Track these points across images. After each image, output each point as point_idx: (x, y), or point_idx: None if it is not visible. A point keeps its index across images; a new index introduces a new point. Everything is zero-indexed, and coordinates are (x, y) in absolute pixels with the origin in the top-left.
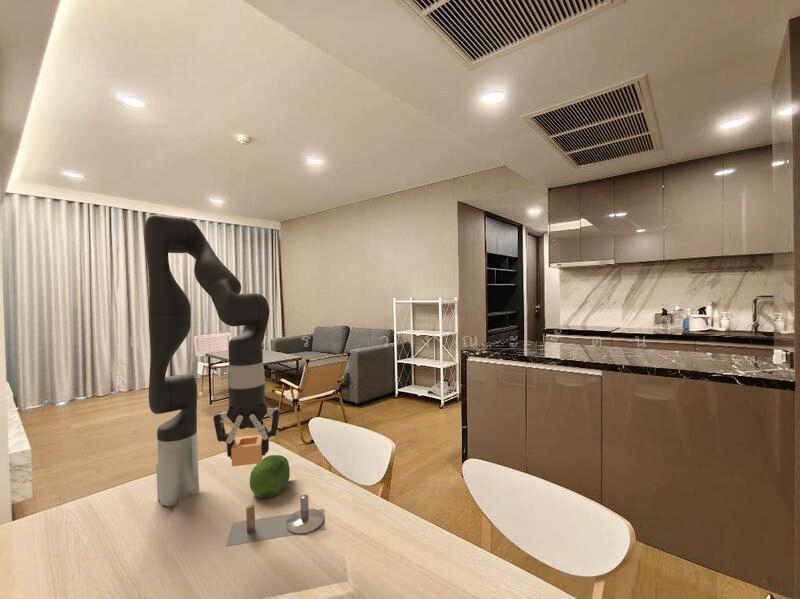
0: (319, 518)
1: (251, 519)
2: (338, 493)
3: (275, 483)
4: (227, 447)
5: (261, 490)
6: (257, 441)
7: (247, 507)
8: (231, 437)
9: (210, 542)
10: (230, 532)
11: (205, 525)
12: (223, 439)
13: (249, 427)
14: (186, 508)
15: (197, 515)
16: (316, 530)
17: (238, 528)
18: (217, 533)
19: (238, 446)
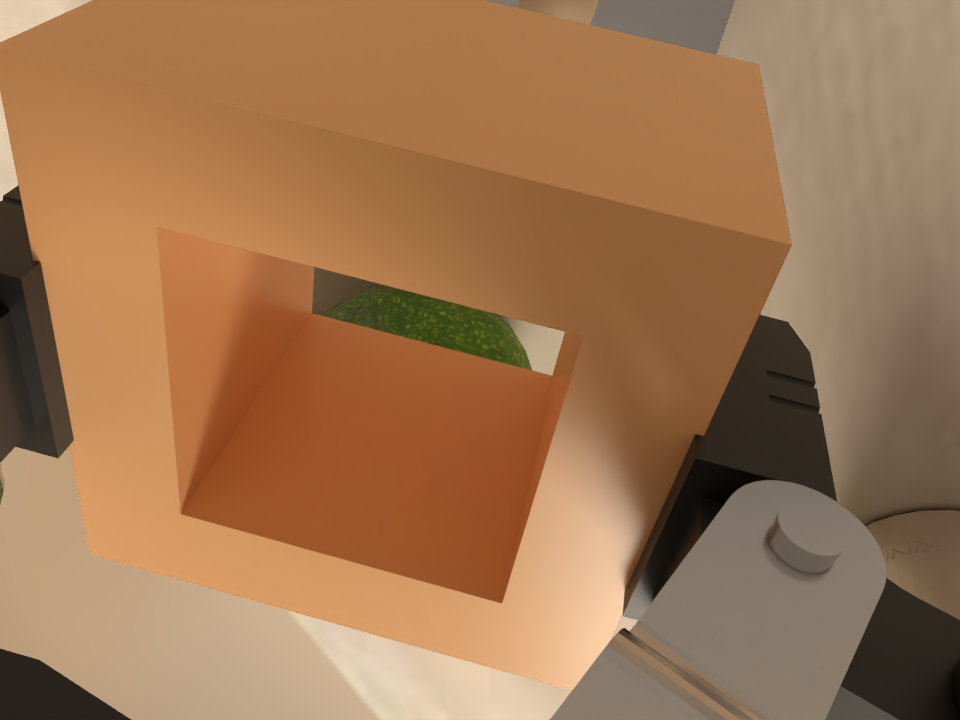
0: None
1: None
2: (12, 159)
3: (356, 319)
4: (818, 456)
5: (463, 316)
6: (141, 325)
7: (582, 4)
8: (746, 601)
9: (865, 22)
10: (728, 6)
11: (855, 239)
12: (950, 654)
13: (71, 703)
14: (922, 463)
15: (878, 366)
16: None
17: (665, 28)
18: (800, 108)
19: (583, 275)
